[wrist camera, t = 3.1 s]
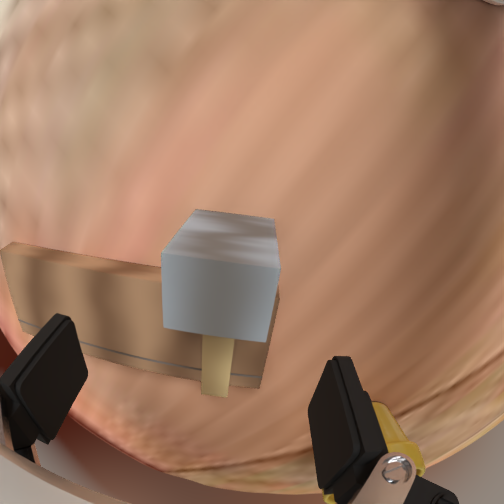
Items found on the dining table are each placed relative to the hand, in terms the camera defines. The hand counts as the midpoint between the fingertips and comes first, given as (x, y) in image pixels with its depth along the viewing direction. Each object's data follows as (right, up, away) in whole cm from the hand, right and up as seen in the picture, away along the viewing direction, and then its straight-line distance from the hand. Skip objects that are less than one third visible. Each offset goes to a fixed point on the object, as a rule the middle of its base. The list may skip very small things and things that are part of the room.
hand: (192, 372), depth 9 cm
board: (-9, -1, +12) cm, 15 cm away
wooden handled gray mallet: (0, +1, +11) cm, 11 cm away
